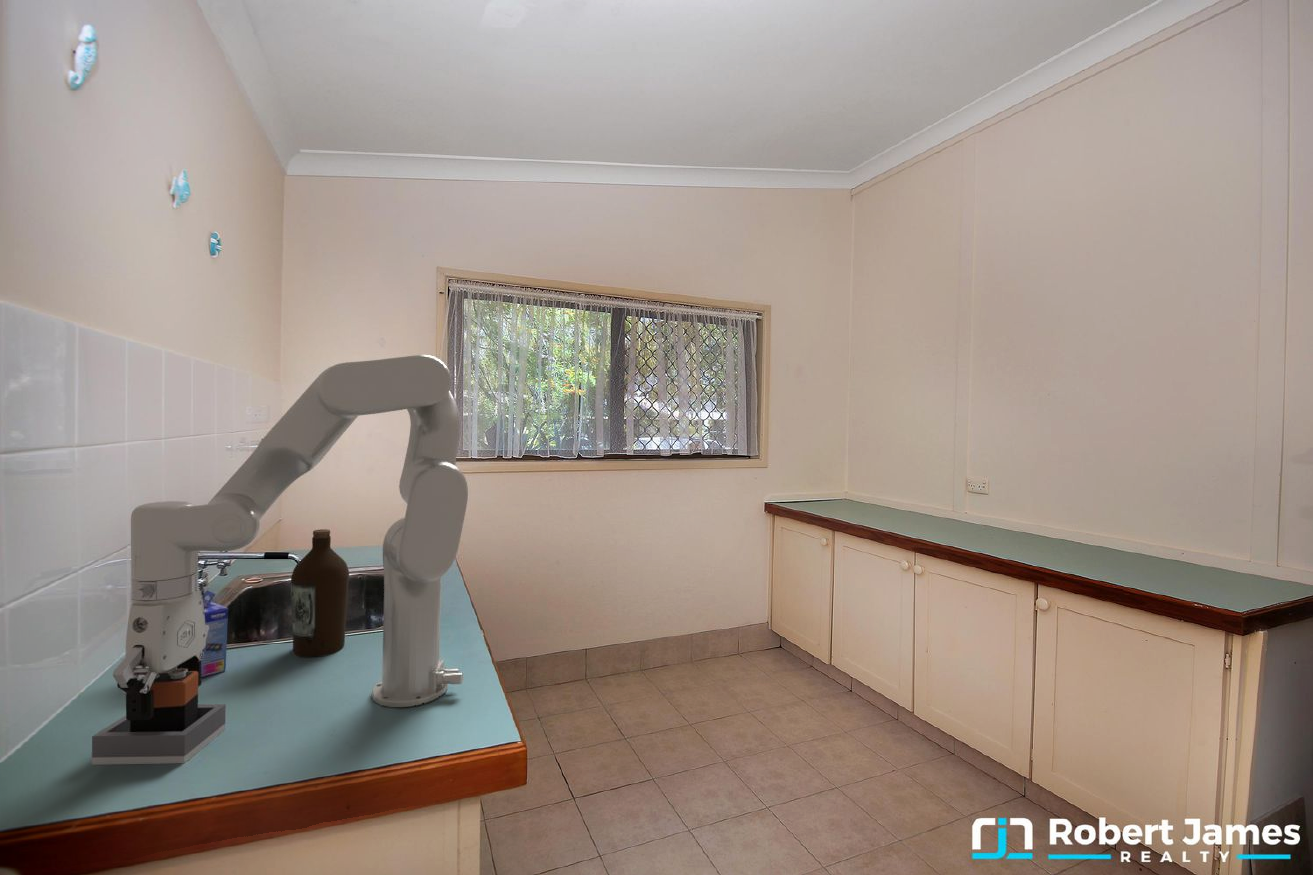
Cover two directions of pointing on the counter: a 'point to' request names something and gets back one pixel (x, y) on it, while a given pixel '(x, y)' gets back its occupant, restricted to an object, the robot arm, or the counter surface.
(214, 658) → the ink cartridge box
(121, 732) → the charging cradle
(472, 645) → the counter surface
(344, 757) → the counter surface
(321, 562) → the olive oil
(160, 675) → the battery
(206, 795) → the counter surface
